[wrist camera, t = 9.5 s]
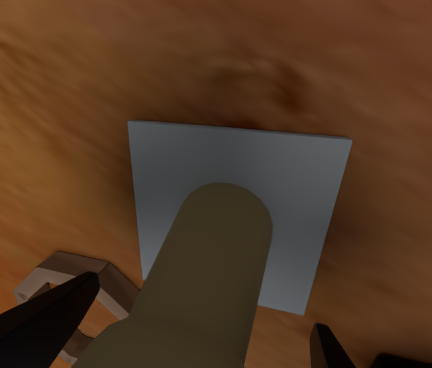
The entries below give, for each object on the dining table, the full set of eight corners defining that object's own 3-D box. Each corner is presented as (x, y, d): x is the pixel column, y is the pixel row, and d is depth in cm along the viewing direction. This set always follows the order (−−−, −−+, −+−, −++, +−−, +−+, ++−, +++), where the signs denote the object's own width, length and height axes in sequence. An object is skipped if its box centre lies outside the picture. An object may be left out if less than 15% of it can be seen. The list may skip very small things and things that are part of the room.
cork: (182, 172, 13) (-69, 398, 4) (284, 194, 13) (339, 582, 3) (175, 252, 16) (15, 521, 6) (261, 275, 15) (243, 639, 5)
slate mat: (347, 137, 12) (352, 140, 11) (302, 305, 16) (303, 315, 15) (134, 119, 14) (127, 121, 13) (147, 272, 18) (142, 279, 18)
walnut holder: (149, 270, 18) (136, 290, 16) (157, 365, 23) (147, 388, 21) (23, 243, 20) (0, 258, 19) (54, 335, 25) (37, 353, 23)
